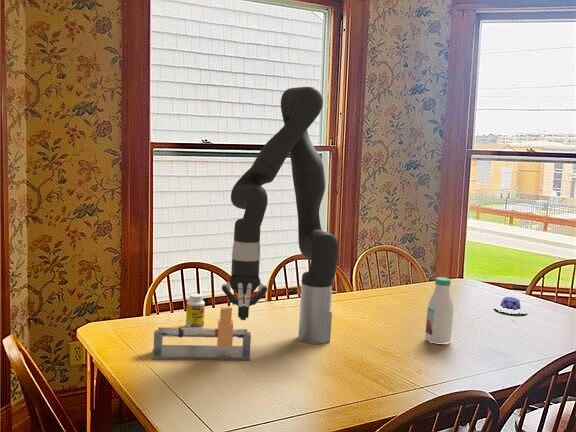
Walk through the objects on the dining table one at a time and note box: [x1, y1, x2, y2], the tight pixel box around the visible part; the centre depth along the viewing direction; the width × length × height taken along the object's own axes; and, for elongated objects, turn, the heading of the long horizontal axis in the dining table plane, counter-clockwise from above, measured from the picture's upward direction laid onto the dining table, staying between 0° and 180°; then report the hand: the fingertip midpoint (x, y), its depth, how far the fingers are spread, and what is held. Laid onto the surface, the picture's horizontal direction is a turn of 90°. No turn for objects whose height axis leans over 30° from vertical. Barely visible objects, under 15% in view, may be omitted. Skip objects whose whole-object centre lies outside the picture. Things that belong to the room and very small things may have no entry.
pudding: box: [499, 296, 522, 310], centre depth 231 cm, size 12×12×5 cm
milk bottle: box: [424, 277, 454, 343], centre depth 190 cm, size 8×8×20 cm
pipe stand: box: [151, 326, 252, 361], centre depth 169 cm, size 26×9×7 cm, turn 96°
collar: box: [216, 306, 234, 348], centre depth 169 cm, size 4×6×10 cm, turn 6°
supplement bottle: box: [185, 293, 206, 328], centre depth 192 cm, size 6×6×10 cm
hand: (242, 319), depth 169 cm, fingers closed
